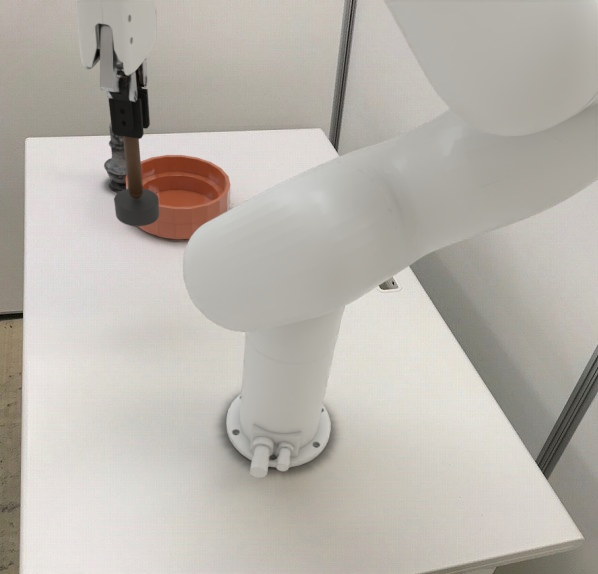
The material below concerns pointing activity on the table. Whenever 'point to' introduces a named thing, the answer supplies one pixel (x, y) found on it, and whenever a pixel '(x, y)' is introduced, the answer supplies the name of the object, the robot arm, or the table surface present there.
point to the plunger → (135, 190)
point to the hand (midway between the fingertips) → (131, 129)
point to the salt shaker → (116, 163)
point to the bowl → (184, 193)
